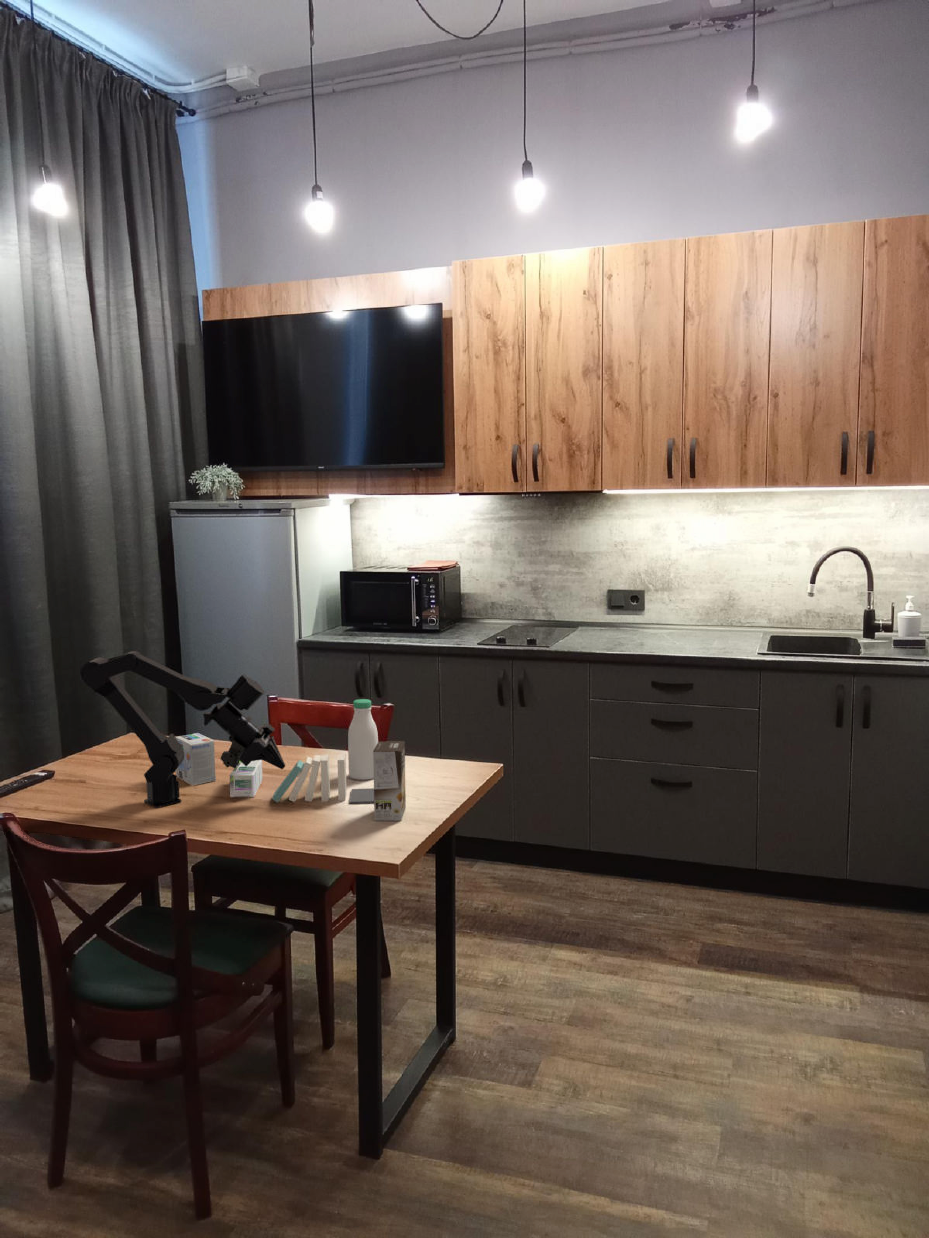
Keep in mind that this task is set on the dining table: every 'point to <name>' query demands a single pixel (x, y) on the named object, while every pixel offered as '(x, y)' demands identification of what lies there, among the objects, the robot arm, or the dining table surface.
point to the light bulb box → (197, 759)
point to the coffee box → (389, 781)
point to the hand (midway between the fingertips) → (283, 767)
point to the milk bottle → (362, 741)
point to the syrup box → (246, 779)
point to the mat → (362, 796)
